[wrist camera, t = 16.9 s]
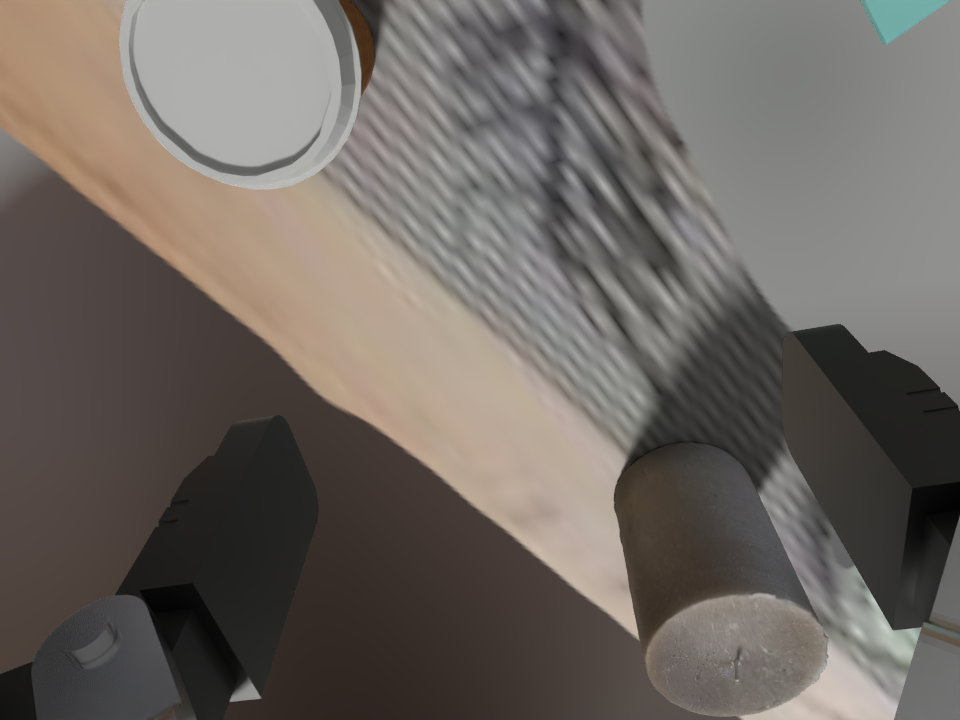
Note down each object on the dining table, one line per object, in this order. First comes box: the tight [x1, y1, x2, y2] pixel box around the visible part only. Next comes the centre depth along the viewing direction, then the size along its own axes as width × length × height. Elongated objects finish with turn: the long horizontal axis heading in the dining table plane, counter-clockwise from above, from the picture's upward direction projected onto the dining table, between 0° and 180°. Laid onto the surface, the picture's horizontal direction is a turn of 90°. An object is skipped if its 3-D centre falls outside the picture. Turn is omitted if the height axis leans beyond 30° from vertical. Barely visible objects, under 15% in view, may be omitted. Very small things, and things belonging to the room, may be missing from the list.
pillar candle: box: [614, 442, 828, 717], centre depth 43 cm, size 10×10×15 cm
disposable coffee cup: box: [119, 0, 374, 190], centre depth 32 cm, size 10×10×12 cm
